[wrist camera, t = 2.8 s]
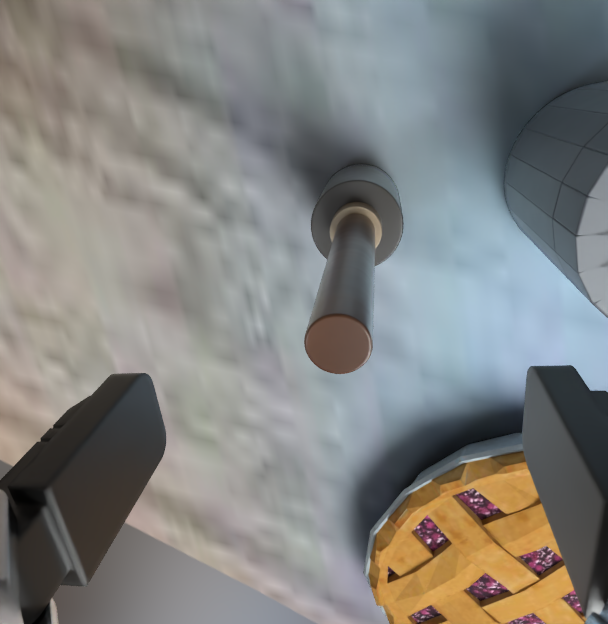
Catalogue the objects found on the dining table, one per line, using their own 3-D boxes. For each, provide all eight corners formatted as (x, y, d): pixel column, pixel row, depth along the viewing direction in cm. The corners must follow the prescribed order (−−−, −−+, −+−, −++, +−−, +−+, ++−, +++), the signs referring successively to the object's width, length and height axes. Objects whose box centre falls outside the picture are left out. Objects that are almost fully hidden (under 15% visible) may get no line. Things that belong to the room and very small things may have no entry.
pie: (311, 538, 40) (302, 596, 35) (518, 354, 31) (542, 400, 26) (515, 669, 43) (531, 737, 39) (757, 536, 34) (815, 605, 30)
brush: (305, 208, 29) (224, 349, 14) (356, 147, 27) (327, 229, 12) (363, 256, 30) (346, 441, 14) (416, 199, 28) (461, 341, 13)
